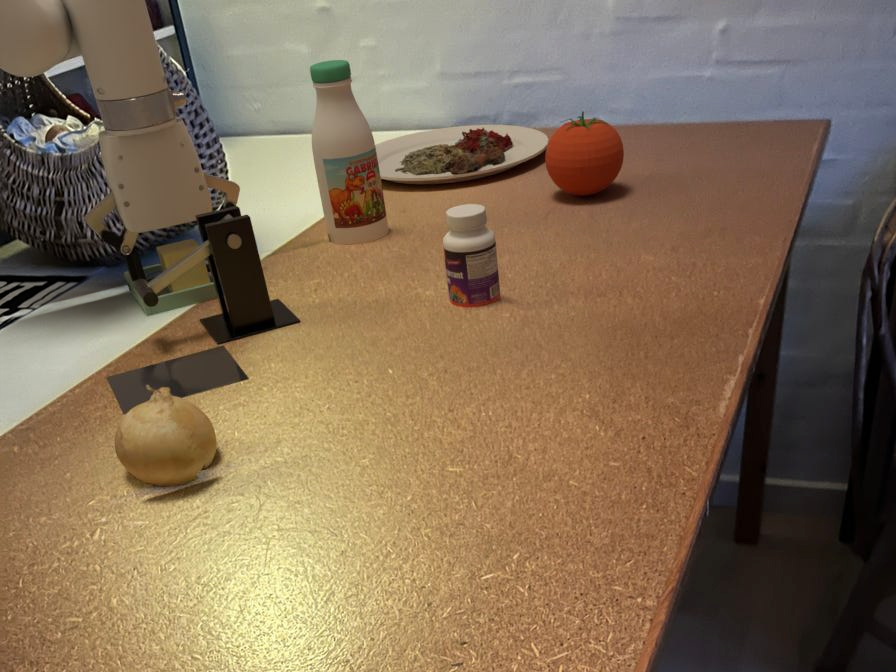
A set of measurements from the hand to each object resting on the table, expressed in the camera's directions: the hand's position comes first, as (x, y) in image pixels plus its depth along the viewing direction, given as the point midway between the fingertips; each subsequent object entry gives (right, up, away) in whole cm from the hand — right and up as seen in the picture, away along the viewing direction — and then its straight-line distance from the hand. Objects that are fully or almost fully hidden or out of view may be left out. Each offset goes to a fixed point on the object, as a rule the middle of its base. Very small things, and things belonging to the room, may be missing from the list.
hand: (184, 275), depth 114 cm
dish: (0, -2, +2) cm, 2 cm away
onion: (+9, -29, -32) cm, 44 cm away
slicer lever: (+6, -5, -15) cm, 17 cm away
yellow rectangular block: (0, -1, +1) cm, 2 cm away
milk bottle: (+19, +8, +11) cm, 24 cm away
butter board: (+5, -18, -19) cm, 27 cm away
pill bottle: (+34, -7, -10) cm, 36 cm away
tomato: (+49, +17, +17) cm, 54 cm away
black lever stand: (+10, -9, -9) cm, 16 cm away
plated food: (+30, +31, +37) cm, 57 cm away
